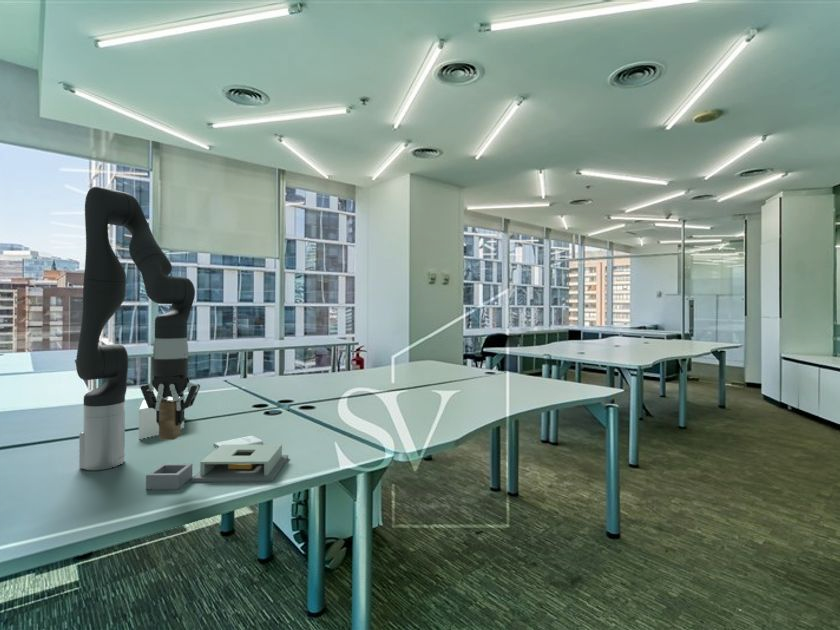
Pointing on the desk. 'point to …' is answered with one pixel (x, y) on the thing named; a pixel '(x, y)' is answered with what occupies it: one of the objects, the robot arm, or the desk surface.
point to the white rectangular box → (149, 421)
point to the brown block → (168, 421)
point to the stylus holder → (169, 476)
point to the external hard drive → (240, 441)
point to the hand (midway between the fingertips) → (170, 424)
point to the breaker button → (240, 466)
